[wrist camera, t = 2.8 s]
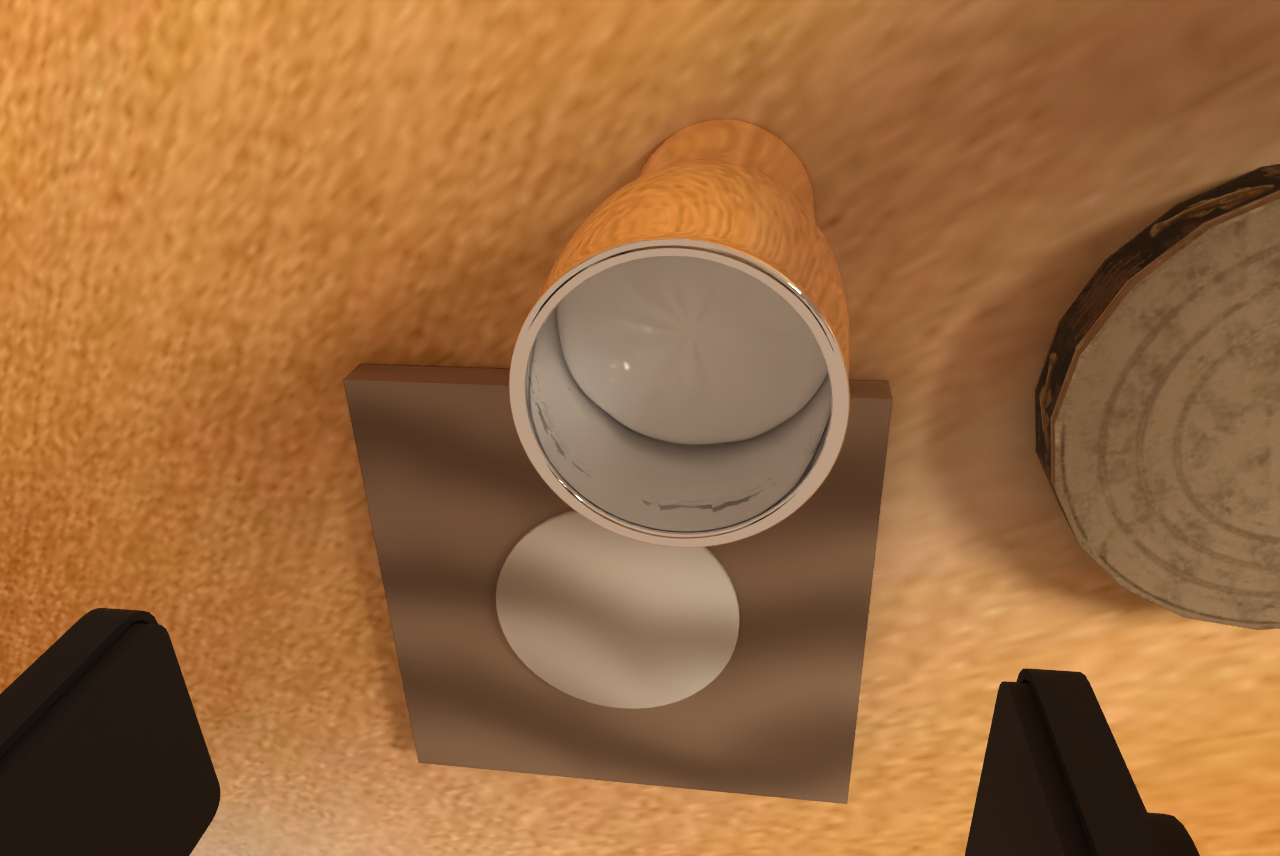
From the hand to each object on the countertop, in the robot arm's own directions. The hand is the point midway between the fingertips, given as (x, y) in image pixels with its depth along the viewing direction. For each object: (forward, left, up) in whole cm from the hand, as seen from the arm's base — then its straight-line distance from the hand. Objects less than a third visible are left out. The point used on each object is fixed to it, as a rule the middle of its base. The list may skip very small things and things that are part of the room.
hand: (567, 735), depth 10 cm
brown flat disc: (+6, +19, -24) cm, 31 cm away
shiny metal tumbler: (0, 0, -23) cm, 23 cm away
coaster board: (+16, -4, -23) cm, 28 cm away
